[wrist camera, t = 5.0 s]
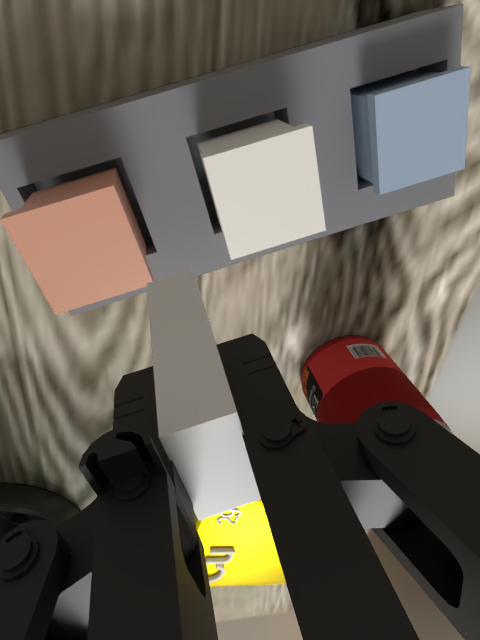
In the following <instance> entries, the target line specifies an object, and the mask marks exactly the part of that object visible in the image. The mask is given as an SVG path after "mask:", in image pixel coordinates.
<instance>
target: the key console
mask: <svg viewBox="0 0 480 640" xmlns="http://www.w3.org/2000/svg"><path fill="white" fill-rule="evenodd" d="M462 19H463V4H460V5H454V6H448V7H441V8H435V9H429V10H423V11H418V12H414V13H411V14H408V15H404V16H401V17H397V18H394V19H391V20H387V21H384V22H380V23H377V24H373V25H370V26H367V27H363V28H360V29H356V30H353V31H350V32H346V33H343V34H339V35H336V36H333V37H329V38H326V39H322V40H319V41H316V42H312V43H309V44H305V45H302V46H299V47H295V48H292V49H288V50H285V51H281V52H278V53H275V54H271V55H268V56H264V57H261V58H258V59H254V60H251V61H247V62H244V63H241V64H237V65H234V66H230V67H227V68H224V69H220V70H217V71H213V72H210V73H207V74H203V75H200V76H196V77H193V78H190V79H186V80H183V81H179V82H176V83H172V84H169V85H166V86H162V87H159V88H155V89H152V90H149V91H145V92H142V93H138V94H135V95H132V96H128V97H125V98H121V99H118V100H115V101H111V102H108V103H104V104H101V105H98V106H94V107H91V108H87V109H84V110H81V111H77V112H74V113H70V114H67V115H63V116H60V117H57V118H53V119H50V120H46V121H43V122H40V123H36V124H33V125H29V126H26V127H23V128H19V129H16V130H12V131H9V132H6V133H2V134H0V189H1V191H2V193H3V195H4V196H5V198H6V200H7V202H8V204H9V205H10V207H11V209H12V211H16V210H19V209H20V208H21V207H22V206H23V205H24V203H25V202H26V201H27V199H28V198H29V197H30V196H31V194H32V193H33V192H35V191H39V190H42V189H45V188H49V187H52V186H55V185H59V184H62V183H65V182H69V181H72V180H75V179H79V178H82V177H85V176H89V175H92V174H95V173H99V172H102V171H105V170H109V169H112V168H115V167H116V170H117V172H118V175H119V177H120V180H121V182H122V185H123V187H124V190H125V192H126V195H127V197H128V200H129V203H130V205H131V208H132V210H133V213H134V215H135V218H136V220H137V223H138V225H139V228H140V230H141V233H142V236H143V238H144V241H145V243H146V260H147V262H148V265H149V267H150V270H151V272H152V275H153V279H154V281H156V280H159V279H162V278H166V277H169V276H172V275H176V274H179V273H182V272H186V271H189V270H192V269H193V272H194V275H195V277H196V276H199V275H202V274H205V273H208V272H212V271H215V270H218V269H221V268H224V267H228V266H231V265H234V264H237V263H240V262H244V261H247V260H250V259H253V258H256V257H260V256H263V255H266V254H269V253H272V252H276V251H279V250H282V249H285V248H288V247H292V246H295V245H298V244H301V243H304V242H308V241H311V240H314V239H317V238H320V237H324V236H327V235H330V234H333V233H336V232H340V231H343V230H346V229H349V228H352V227H356V226H359V225H362V224H365V223H368V222H372V221H375V220H378V219H381V218H384V217H388V216H391V215H394V214H397V213H400V212H404V211H407V210H410V209H413V208H416V207H419V206H423V205H426V204H429V203H432V202H435V201H439V200H442V199H445V198H448V197H451V196H454V186H455V172H453V173H449V174H446V175H443V176H440V177H436V178H433V179H430V180H427V181H424V182H420V183H417V184H414V185H411V186H407V187H404V188H401V189H398V190H395V191H391V192H388V193H385V194H382V195H379V194H377V193H375V192H374V191H373V183H371V182H370V181H368V180H366V179H364V178H362V177H360V176H358V175H357V170H356V157H355V145H354V133H353V120H352V108H351V96H350V89H353V88H356V87H359V86H363V85H366V84H370V83H373V82H376V81H380V80H383V79H386V78H390V77H393V76H396V75H400V74H403V73H406V72H410V71H421V72H439V73H440V72H444V71H447V70H450V69H454V68H457V67H460V61H461V40H462ZM275 119H278V120H280V121H282V122H284V123H287V124H289V125H291V126H293V127H295V126H298V125H301V124H305V123H307V124H310V125H312V127H313V135H314V143H315V150H316V158H317V166H318V173H319V181H320V188H321V196H322V204H323V211H324V219H325V227H326V231H322V232H319V233H316V234H313V235H310V236H306V237H303V238H300V239H297V240H294V241H290V242H287V243H284V244H281V245H278V246H274V247H271V248H268V249H265V250H262V251H258V252H255V253H252V254H249V255H246V256H242V257H239V258H236V259H233V260H231V259H230V257H229V254H228V251H227V247H226V244H225V240H224V237H223V233H222V230H221V226H220V223H219V220H218V217H217V213H216V210H215V206H214V202H213V199H212V195H211V192H210V188H209V185H208V181H207V177H206V174H205V170H204V167H203V163H202V160H201V156H200V152H199V149H198V145H197V143H199V142H202V141H205V140H209V139H212V138H215V137H219V136H222V135H225V134H229V133H232V132H235V131H239V130H242V129H245V128H249V127H252V126H255V125H259V124H262V123H265V122H269V121H272V120H275ZM145 292H147V286H146V287H143V288H140V289H137V290H134V291H130V292H127V293H124V294H121V295H117V296H114V297H111V298H108V299H105V300H101V301H98V302H95V303H92V304H89V305H85V306H82V307H79V308H76V309H73V310H69V312H70V314H71V315H74V314H77V313H81V312H84V311H87V310H90V309H93V308H97V307H100V306H103V305H106V304H109V303H113V302H116V301H119V300H122V299H125V298H129V297H132V296H135V295H138V294H141V293H145Z"/></svg>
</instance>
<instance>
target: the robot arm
mask: <svg viewBox="0 0 480 640" xmlns="http://www.w3.org/2000/svg"><path fill="white" fill-rule="evenodd" d="M147 294H148V307H149V319H150V332H151V345H152V357H153V366H152V367H149V368H146V369H143V370H140V371H136V372H133V373H130V374H127V375H124V376H123V377H122V379H121V380H120V382H119V384H118V386H117V388H116V389H115V394H114V407H115V409H114V416H113V419H114V421H113V430H112V431H109V432H107V433H105V434H103V435H102V436H101V437H99V438H98V439H97V440H96V441H94V442H93V443H92V444H91V445H90V446H89V448H88V449H87V450H86V452H85V453H84V454H83V456H82V459H81V462H80V465H79V469H80V470H81V472H82V473H83V475H84V476H85V478H86V479H87V481H88V482H89V484H90V485H91V487H92V488H93V490H94V491H95V493H96V494H97V498H96V499H95V500H94V501H93V502H92V503H91V504H90V505H88V506H87V507H86V508H84V509H83V510H82V511H79V510H78V509H77V508H76V507H75V506H74V505H73V504H71V503H70V502H69V501H67V500H66V499H64V498H62V497H60V496H58V495H56V494H54V493H51V492H49V491H46V490H42V489H39V488H35V487H30V486H23V485H14V484H0V640H218V636H217V629H216V623H215V616H214V610H213V603H212V597H211V591H210V584H209V578H208V572H207V565H206V559H205V553H204V546H203V544H202V541H201V539H200V536H199V534H198V532H197V530H196V523H195V516H194V512H195V514H196V516H197V518H198V520H199V521H200V520H203V519H206V518H209V517H212V516H215V515H218V514H220V513H223V512H226V511H229V510H232V509H235V508H238V507H241V506H244V505H247V504H249V503H252V502H255V501H258V500H261V501H262V504H263V507H264V511H265V514H266V517H267V521H268V524H269V527H270V531H271V534H272V537H273V541H274V544H275V547H276V551H277V554H278V557H279V561H280V564H281V567H282V571H283V574H284V577H285V581H286V584H287V587H288V591H289V594H290V597H291V601H292V604H293V607H294V611H295V614H296V617H297V621H298V624H299V627H300V630H301V634H302V637H303V640H419V638H418V636H417V634H416V632H415V630H414V628H413V626H412V624H411V622H410V620H409V618H408V616H407V614H406V612H405V610H404V608H403V606H402V604H401V602H400V600H399V598H398V596H397V594H396V592H395V590H394V588H393V586H392V584H391V582H390V580H389V578H388V576H387V574H386V572H385V571H384V568H383V566H382V564H381V562H380V560H379V558H378V556H377V554H376V552H375V550H374V548H373V546H372V544H371V542H370V540H369V539H368V536H367V534H366V532H365V530H364V528H371V529H372V530H373V531H374V532H375V533H376V535H377V536H378V537H379V538H380V539H381V541H382V542H383V543H384V544H385V545H386V546H387V548H388V549H389V550H390V551H391V552H392V554H393V555H394V556H395V557H396V558H397V559H398V561H399V562H400V563H401V564H402V565H403V567H404V568H405V569H406V570H407V571H408V573H409V574H410V575H411V576H412V577H413V578H414V580H415V581H416V582H417V583H418V584H419V586H420V587H421V588H422V589H423V590H424V591H425V593H426V594H427V595H428V596H429V597H430V599H431V600H432V601H433V602H434V603H435V605H436V606H437V607H438V608H439V609H440V611H441V612H442V613H443V614H444V615H445V616H446V618H447V619H448V620H449V621H450V622H451V624H452V625H453V626H454V627H455V628H456V629H457V631H458V632H459V633H460V634H461V635H462V637H463V638H464V639H465V640H480V454H478V453H477V452H476V451H474V450H473V449H471V448H470V447H469V446H468V445H466V444H465V443H464V442H462V441H461V440H460V439H458V438H457V437H456V436H455V435H453V434H452V433H451V432H449V431H448V430H447V429H445V428H444V427H443V426H441V425H440V424H439V423H437V422H436V421H435V420H433V419H432V418H431V417H429V416H428V415H427V414H425V413H424V412H423V411H421V410H419V409H417V408H416V407H414V406H412V405H410V404H406V403H401V402H396V401H392V402H380V403H378V404H375V405H372V406H370V407H368V408H367V409H366V410H365V411H363V412H362V413H361V414H360V416H359V418H358V421H357V423H341V424H331V423H322V422H318V421H315V420H313V419H310V418H308V417H307V416H305V415H304V414H303V413H302V412H301V411H300V410H299V409H298V407H297V406H296V404H295V402H294V400H293V398H292V396H291V394H290V392H289V390H288V388H287V386H286V384H285V382H284V380H283V377H282V375H281V373H280V371H279V369H278V367H277V366H276V363H275V361H274V359H273V357H272V356H271V353H270V351H269V349H268V347H267V345H266V343H265V342H264V341H263V340H261V339H260V338H258V337H257V336H255V335H254V334H249V335H246V336H243V337H240V338H237V339H233V340H230V341H227V342H224V343H221V344H218V345H216V342H215V339H214V336H213V332H212V329H211V326H210V323H209V320H208V316H207V313H206V310H205V307H204V304H203V300H202V297H201V294H200V291H199V288H198V285H197V281H196V278H195V275H194V272H193V269H192V270H189V271H186V272H182V273H179V274H176V275H172V276H169V277H166V278H162V279H159V280H156V281H153V282H149V283H147Z"/></svg>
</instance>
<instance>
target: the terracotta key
mask: <svg viewBox="0 0 480 640" xmlns="http://www.w3.org/2000/svg"><path fill="white" fill-rule="evenodd" d="M0 220H1V222H2V224H3V225H4V227H5V229H6V231H7V232H8V234H9V236H10V237H11V239H12V241H13V243H14V244H15V246H16V248H17V249H18V251H19V253H20V254H21V256H22V258H23V260H24V261H25V263H26V265H27V266H28V268H29V270H30V272H31V273H32V275H33V277H34V278H35V280H36V282H37V284H38V285H39V287H40V289H41V290H42V292H43V294H44V296H45V297H46V299H47V301H48V302H49V304H50V306H51V308H52V309H53V311H54V313H55V314H56V315H57V314H60V313H63V312H66V311H69V310H73V309H76V308H79V307H82V306H85V305H89V304H92V303H95V302H98V301H101V300H105V299H108V298H111V297H114V296H117V295H121V294H124V293H127V292H130V291H134V290H137V289H140V288H143V287H146V286H147V283H149V282H153V281H154V279H153V275H152V272H151V270H150V267H149V265H148V262H147V260H146V243H145V241H144V238H143V236H142V233H141V230H140V228H139V225H138V223H137V220H136V218H135V215H134V213H133V210H132V208H131V205H130V203H129V200H128V197H127V195H126V192H125V190H124V187H123V185H122V182H121V180H120V177H119V175H118V172H117V170H116V167H115V168H112V169H109V170H105V171H102V172H99V173H95V174H92V175H89V176H85V177H82V178H79V179H75V180H72V181H69V182H65V183H62V184H59V185H55V186H52V187H49V188H45V189H42V190H39V191H35V192H33V193H32V194H31V196H30V197H29V198H28V199H27V201H26V202H25V203H24V205H23V206H22V207H21V208H20V209H19V210H16V211H13V212H9V213H6V214H4V216H3V217H2V218H1V219H0Z"/></svg>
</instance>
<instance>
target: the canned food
mask: <svg viewBox="0 0 480 640" xmlns="http://www.w3.org/2000/svg"><path fill="white" fill-rule="evenodd" d="M301 380H302V390H303V392H304V394H305V397H306V399H307V401H308V403H309V405H310V407H311V409H312V411H313V413H314V415H315V417H316V419H317V421H318V422H322V423H331V424H341V423H357V421H358V418H359V416H360V414H361V413H362V412H363V411H365V410H366V409H367V408H368V407H370V406H372V405H375V404H378V403H380V402H392V401H396V402H401V403H406V404H410V405H412V406H414V407H416V408H417V409H419V410H421V411H423V412H424V413H425V414H427V415H428V416H429V417H431V418H432V419H433V420H435V421H436V422H437V423H439V424H440V425H441V426H443V427H444V428H445V429H447V430H448V431H449V432H451V430H450V428H449V427H448V426H447V424H446V423H445V422H444V421H443V420H442V418H441V417H440V415H439V414H438V413H437V412H436V411H435V410H434V408H433V407H432V406H431V405H430V404H429V402H428V401H427V400H426V399H425V398H424V397H423V395H422V394H421V393H420V392H419V391H418V389H417V388H416V387H415V386H414V385H413V384H412V382H411V381H410V380H409V379H408V378H407V376H406V375H405V374H404V373H403V372H402V371H401V369H400V368H399V367H398V366H397V365H396V363H395V362H394V361H393V360H392V359H391V358H390V356H389V355H388V354H387V353H386V352H385V350H384V349H383V348H382V347H381V346H380V345H379V344H377V343H375V342H374V341H372V340H370V339H368V338H366V337H362V336H352V335H351V336H343V337H340V338H336V339H334V340H331V341H329V342H327V343H325V344H324V345H322V346H321V347H319V348H318V349H317V350H316V351H315V352H313V354H312V355H311V356H310V357H309V358H308V360H307V362H306V363H305V365H304V368H303V370H302V377H301ZM451 433H452V432H451ZM452 434H453V433H452ZM453 435H454V434H453Z"/></svg>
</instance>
